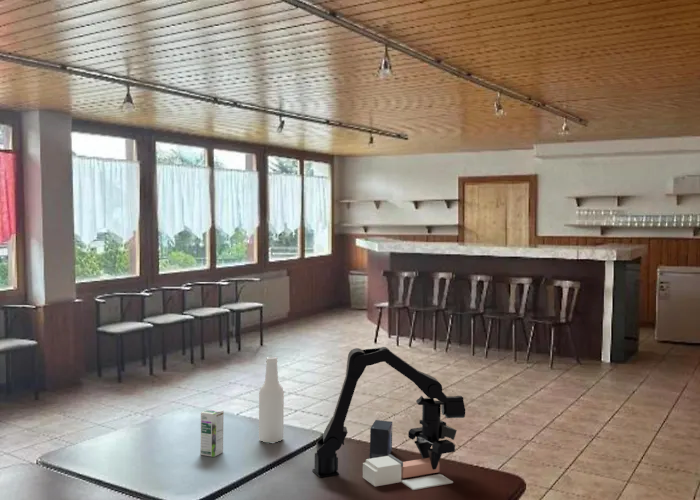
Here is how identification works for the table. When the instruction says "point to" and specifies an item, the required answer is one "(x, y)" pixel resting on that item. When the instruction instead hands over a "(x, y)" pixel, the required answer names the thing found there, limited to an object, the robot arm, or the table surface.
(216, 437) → the syrup box
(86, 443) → the table surface
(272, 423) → the alcohol
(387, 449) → the small box
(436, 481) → the mat
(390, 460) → the block
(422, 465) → the salmon pink block
